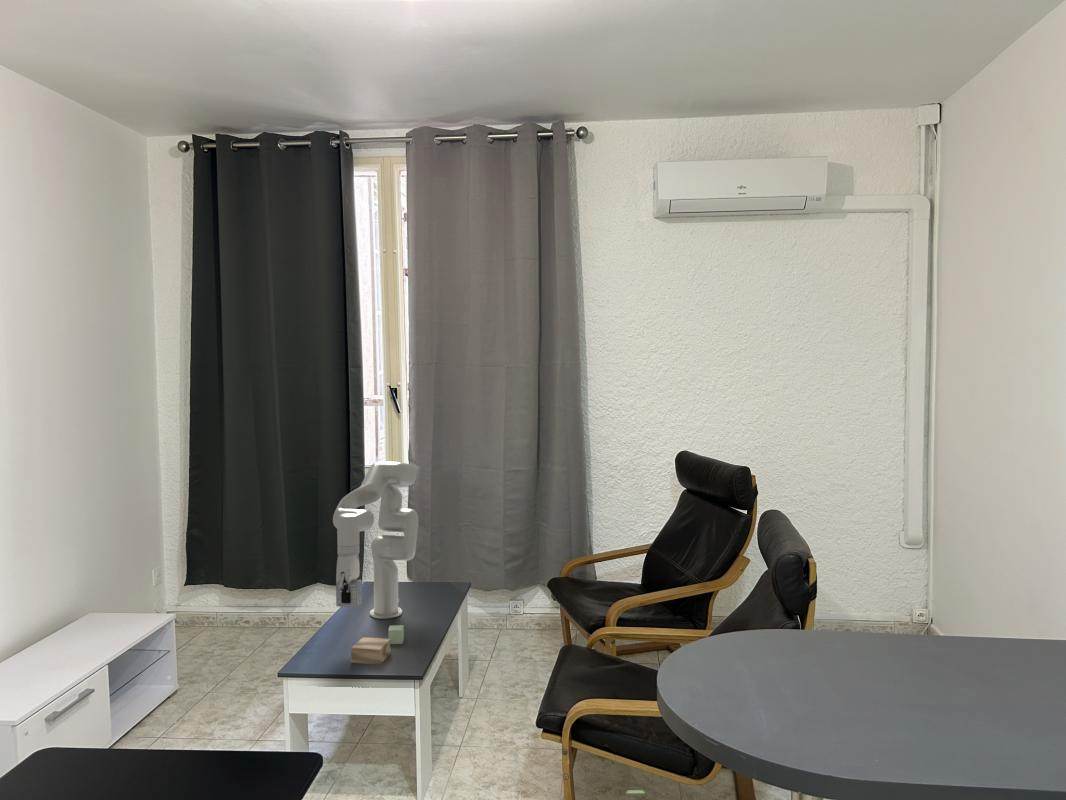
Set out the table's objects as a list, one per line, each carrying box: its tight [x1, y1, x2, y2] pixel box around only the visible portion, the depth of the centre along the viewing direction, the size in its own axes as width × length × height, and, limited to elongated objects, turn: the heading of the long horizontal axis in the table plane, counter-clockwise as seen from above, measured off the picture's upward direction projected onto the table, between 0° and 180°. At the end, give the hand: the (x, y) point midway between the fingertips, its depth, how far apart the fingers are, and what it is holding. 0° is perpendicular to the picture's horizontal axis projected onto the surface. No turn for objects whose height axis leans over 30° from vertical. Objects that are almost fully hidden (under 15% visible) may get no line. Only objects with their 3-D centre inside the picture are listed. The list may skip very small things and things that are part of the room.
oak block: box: [350, 636, 392, 666], centre depth 254 cm, size 10×10×5 cm
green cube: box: [387, 624, 405, 645], centre depth 269 cm, size 5×5×5 cm
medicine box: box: [335, 579, 363, 608], centre depth 262 cm, size 8×4×9 cm, turn 83°
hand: (349, 600), depth 262 cm, fingers closed on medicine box, 4 cm apart
